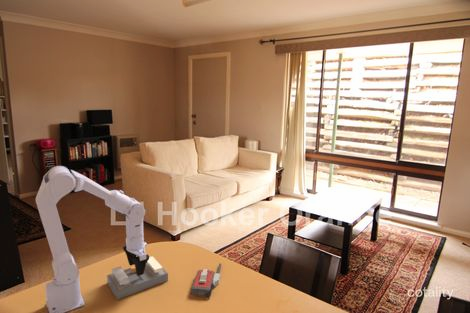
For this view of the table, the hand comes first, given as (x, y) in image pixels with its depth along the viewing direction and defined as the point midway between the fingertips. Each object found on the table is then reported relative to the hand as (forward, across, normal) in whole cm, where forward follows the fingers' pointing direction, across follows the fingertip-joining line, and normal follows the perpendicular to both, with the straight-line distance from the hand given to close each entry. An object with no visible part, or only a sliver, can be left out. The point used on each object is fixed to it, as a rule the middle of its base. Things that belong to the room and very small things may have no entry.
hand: (136, 269), depth 110 cm
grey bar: (0, -1, +6) cm, 6 cm away
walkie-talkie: (+5, -15, -21) cm, 26 cm away
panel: (+4, -1, 0) cm, 4 cm away
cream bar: (0, -1, -6) cm, 6 cm away
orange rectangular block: (+1, +1, 0) cm, 1 cm away
